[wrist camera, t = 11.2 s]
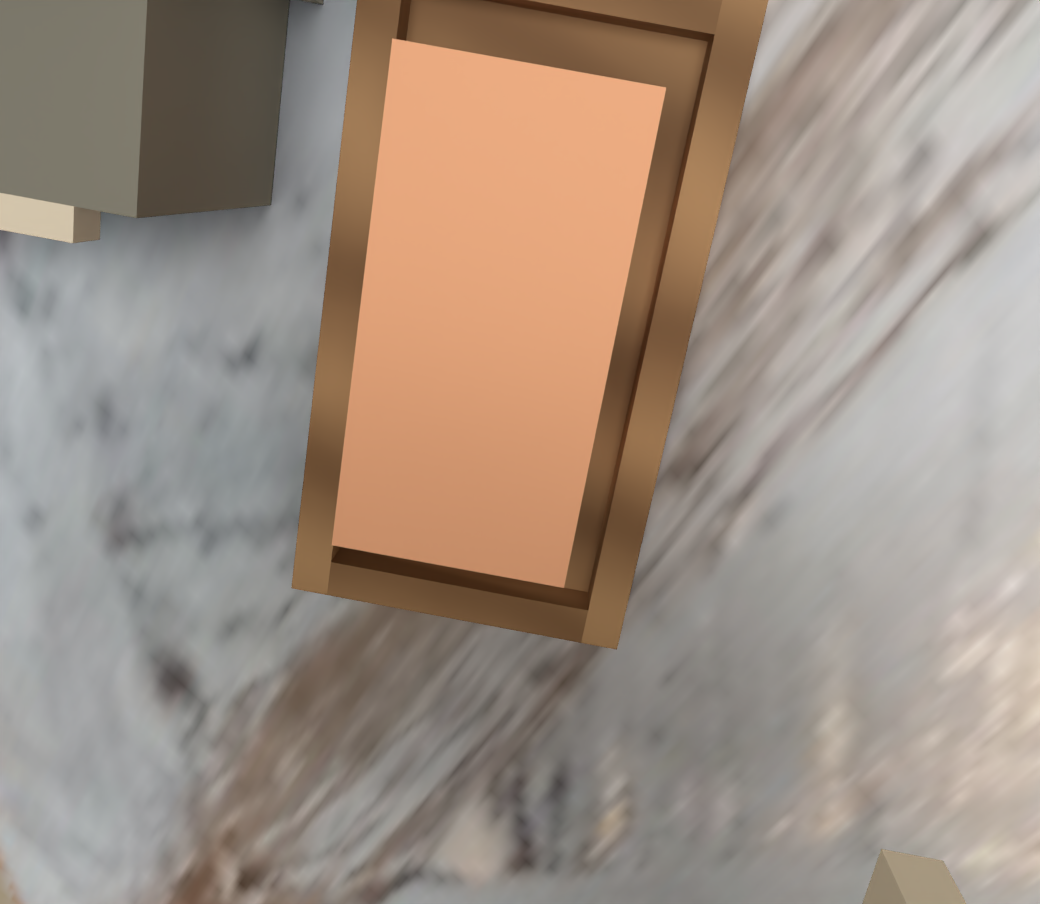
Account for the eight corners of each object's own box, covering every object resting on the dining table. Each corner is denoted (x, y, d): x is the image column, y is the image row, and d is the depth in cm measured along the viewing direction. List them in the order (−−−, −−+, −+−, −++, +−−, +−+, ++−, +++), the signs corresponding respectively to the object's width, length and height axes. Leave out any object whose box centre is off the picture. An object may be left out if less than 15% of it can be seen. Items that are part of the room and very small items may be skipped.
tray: (614, 621, 32) (616, 649, 30) (308, 564, 32) (291, 587, 31) (756, 7, 26) (769, -6, 25) (381, -61, 27) (366, -80, 25)
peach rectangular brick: (567, 490, 30) (564, 588, 23) (389, 458, 31) (331, 545, 23) (643, 110, 27) (665, 87, 20) (442, 74, 27) (392, 38, 20)
